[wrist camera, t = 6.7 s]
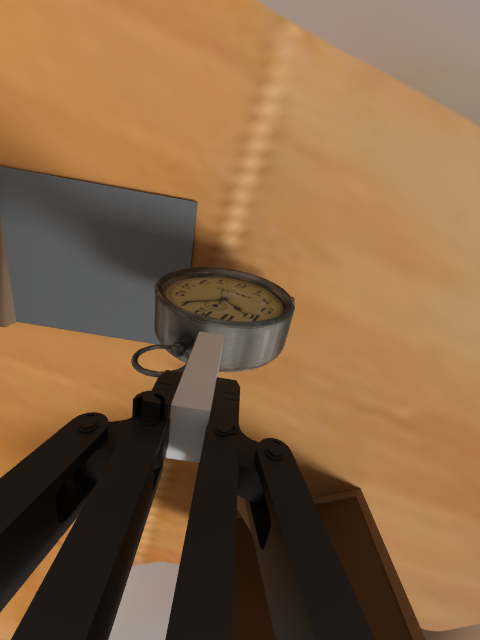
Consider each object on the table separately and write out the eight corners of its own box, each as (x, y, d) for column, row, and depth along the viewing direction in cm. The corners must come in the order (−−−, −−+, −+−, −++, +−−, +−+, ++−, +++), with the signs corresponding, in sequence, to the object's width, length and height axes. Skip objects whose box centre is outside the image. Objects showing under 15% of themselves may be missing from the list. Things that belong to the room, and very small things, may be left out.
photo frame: (364, 507, 43) (501, 862, 19) (230, 530, 46) (209, 861, 23) (348, 434, 38) (506, 797, 14) (198, 466, 41) (129, 807, 18)
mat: (10, 318, 32) (8, 320, 32) (-14, 163, 26) (-18, 162, 26) (182, 346, 33) (181, 348, 33) (197, 202, 27) (196, 202, 27)
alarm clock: (309, 287, 26) (244, 369, 12) (294, 337, 28) (224, 456, 14) (207, 257, 29) (62, 295, 15) (201, 305, 31) (69, 375, 17)
